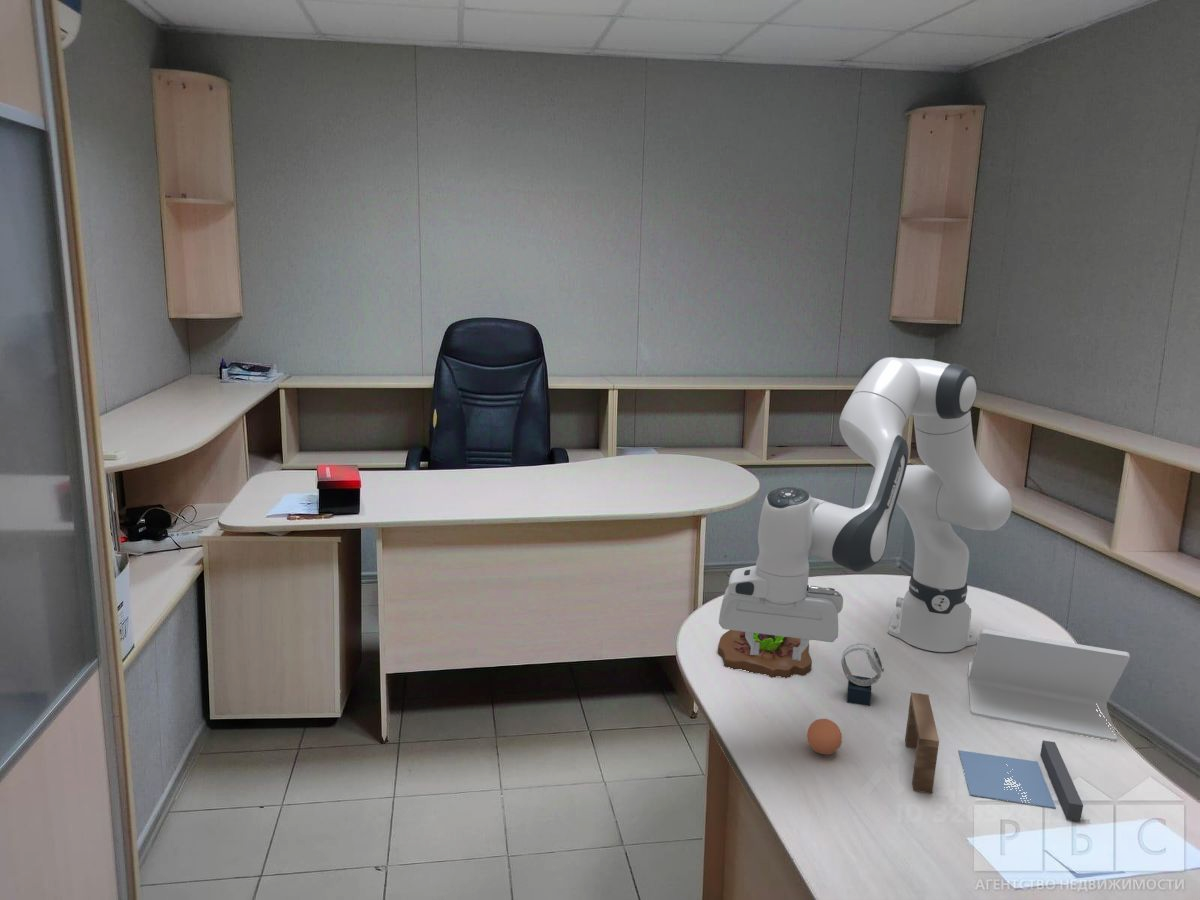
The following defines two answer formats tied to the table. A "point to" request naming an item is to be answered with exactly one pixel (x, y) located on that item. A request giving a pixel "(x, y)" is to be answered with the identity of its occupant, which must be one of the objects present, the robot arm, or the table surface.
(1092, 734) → the tablet stand
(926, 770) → the bridge
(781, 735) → the table surface
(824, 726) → the ball
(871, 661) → the watch
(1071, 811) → the stopper
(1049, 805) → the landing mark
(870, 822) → the table surface
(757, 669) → the plant
